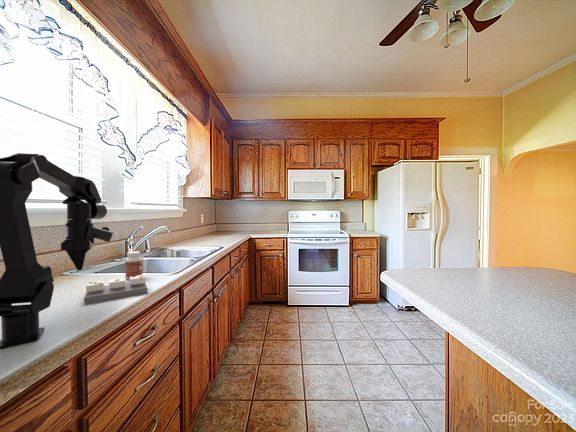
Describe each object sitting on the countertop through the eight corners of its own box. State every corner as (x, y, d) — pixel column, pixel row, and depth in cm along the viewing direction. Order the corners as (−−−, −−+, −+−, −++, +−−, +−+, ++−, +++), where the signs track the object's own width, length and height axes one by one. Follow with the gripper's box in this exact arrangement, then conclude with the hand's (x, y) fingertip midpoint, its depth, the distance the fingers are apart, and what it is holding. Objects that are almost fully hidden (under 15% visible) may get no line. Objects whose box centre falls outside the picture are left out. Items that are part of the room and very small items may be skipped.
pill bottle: (142, 278, 104) (142, 252, 104) (125, 280, 101) (125, 254, 101) (142, 275, 109) (141, 250, 109) (125, 277, 106) (125, 251, 106)
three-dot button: (103, 289, 81) (103, 283, 81) (86, 292, 79) (86, 285, 79) (104, 286, 85) (103, 280, 85) (87, 288, 82) (87, 282, 82)
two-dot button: (145, 282, 88) (145, 276, 88) (130, 285, 86) (130, 278, 86) (144, 280, 92) (143, 274, 92) (130, 282, 89) (129, 276, 89)
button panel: (147, 293, 86) (147, 287, 86) (84, 304, 76) (84, 297, 76) (144, 285, 95) (144, 280, 95) (87, 294, 85) (87, 288, 85)
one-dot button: (125, 286, 85) (125, 280, 85) (109, 288, 82) (109, 282, 82) (124, 283, 88) (124, 277, 88) (109, 285, 86) (109, 279, 86)
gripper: (110, 219, 73) (111, 271, 73) (112, 219, 88) (112, 262, 88) (60, 219, 66) (60, 277, 66) (71, 219, 82) (71, 266, 82)
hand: (79, 269), depth 76 cm, fingers closed
